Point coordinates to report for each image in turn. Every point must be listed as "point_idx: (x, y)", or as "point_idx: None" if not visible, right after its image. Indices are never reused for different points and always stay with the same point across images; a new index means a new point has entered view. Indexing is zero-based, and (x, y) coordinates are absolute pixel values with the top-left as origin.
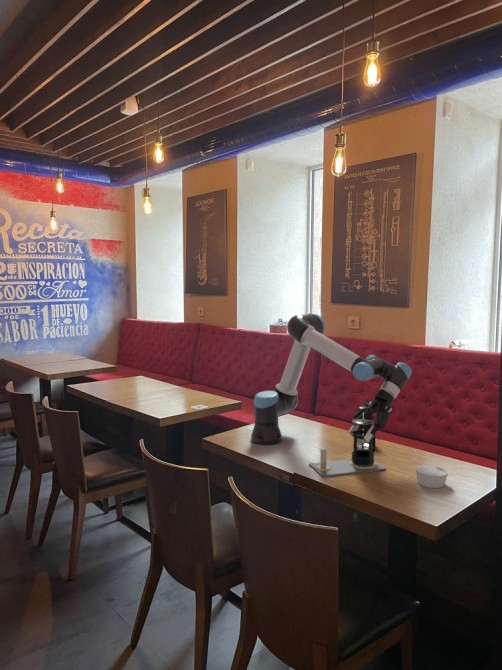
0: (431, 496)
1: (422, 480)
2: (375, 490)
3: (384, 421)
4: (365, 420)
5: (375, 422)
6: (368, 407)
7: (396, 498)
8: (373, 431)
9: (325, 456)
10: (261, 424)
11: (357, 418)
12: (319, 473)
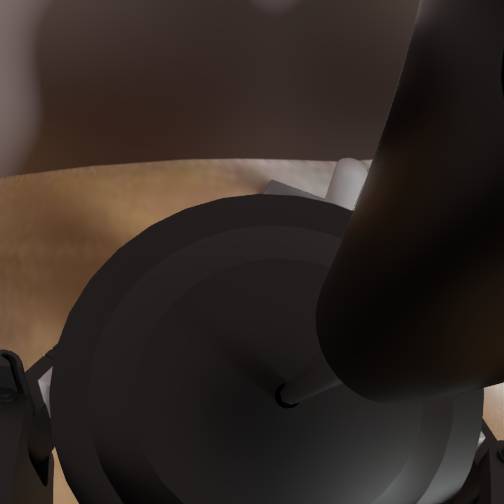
0: None
1: None
2: (65, 229)
3: None
4: (266, 454)
5: (7, 430)
6: None
7: (5, 229)
8: (56, 346)
9: (328, 190)
10: None
11: (497, 462)
12: (297, 190)
